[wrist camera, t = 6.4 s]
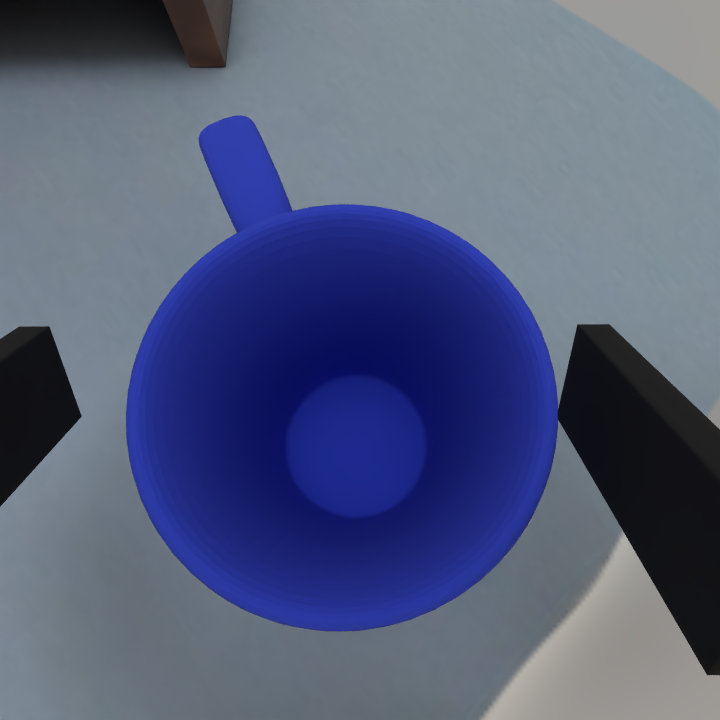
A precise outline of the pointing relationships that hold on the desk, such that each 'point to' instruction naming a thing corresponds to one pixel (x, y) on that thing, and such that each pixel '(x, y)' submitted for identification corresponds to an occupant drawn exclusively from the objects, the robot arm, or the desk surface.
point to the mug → (337, 407)
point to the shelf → (202, 29)
